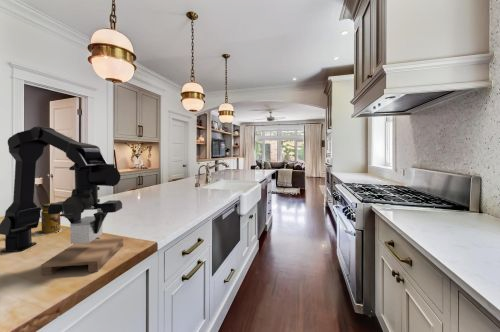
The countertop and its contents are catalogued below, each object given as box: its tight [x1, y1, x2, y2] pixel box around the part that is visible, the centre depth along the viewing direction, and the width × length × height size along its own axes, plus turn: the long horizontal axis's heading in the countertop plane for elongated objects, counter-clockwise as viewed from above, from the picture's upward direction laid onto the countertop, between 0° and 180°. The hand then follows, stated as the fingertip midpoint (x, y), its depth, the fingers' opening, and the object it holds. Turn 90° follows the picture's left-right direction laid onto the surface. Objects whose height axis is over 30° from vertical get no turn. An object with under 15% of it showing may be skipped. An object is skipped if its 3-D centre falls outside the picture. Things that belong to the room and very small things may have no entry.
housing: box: [69, 215, 103, 245], centre depth 70 cm, size 8×5×6 cm, turn 9°
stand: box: [40, 237, 124, 276], centre depth 70 cm, size 18×14×3 cm
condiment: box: [34, 202, 63, 237], centre depth 94 cm, size 7×8×12 cm
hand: (87, 233), depth 70 cm, fingers closed on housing, 5 cm apart
